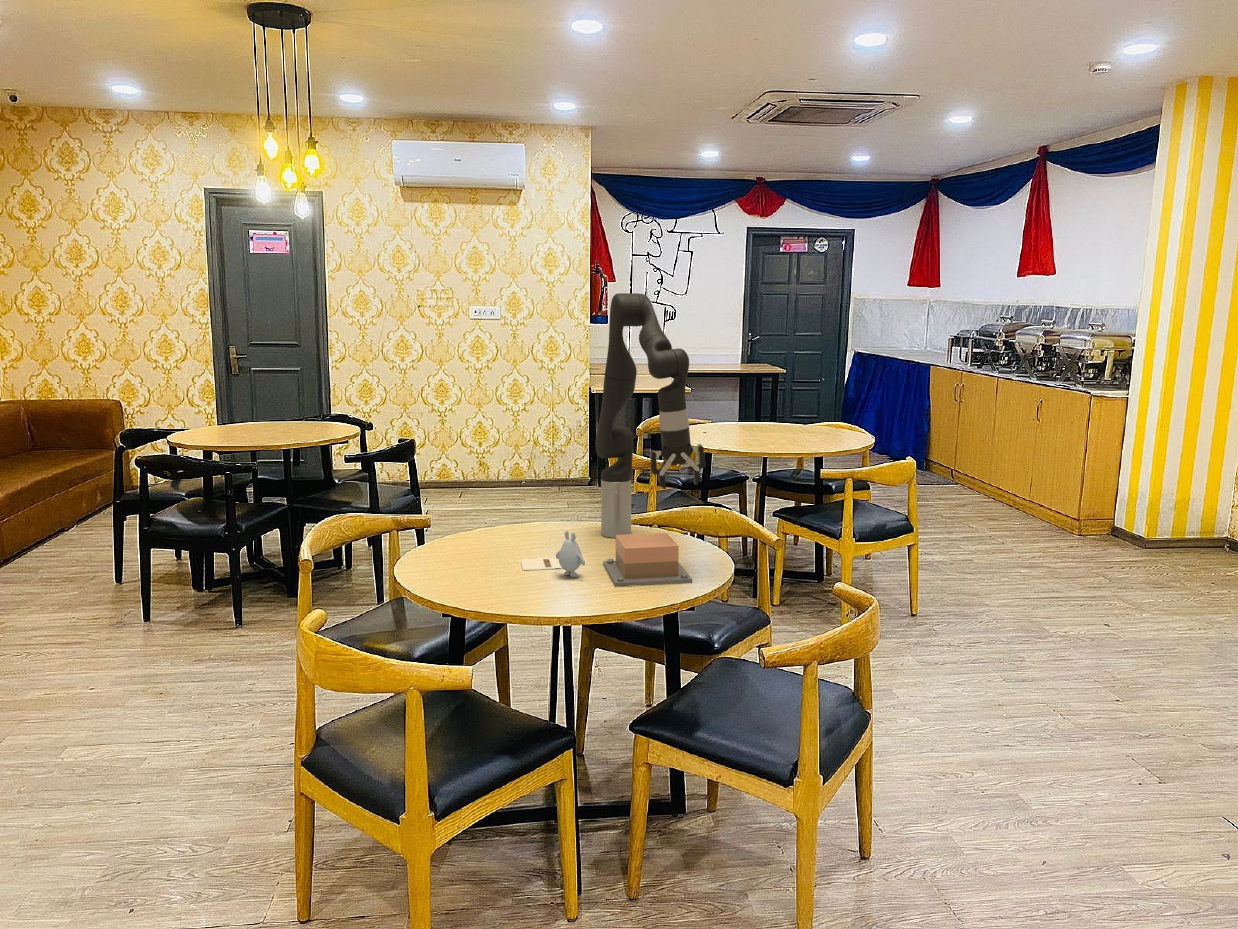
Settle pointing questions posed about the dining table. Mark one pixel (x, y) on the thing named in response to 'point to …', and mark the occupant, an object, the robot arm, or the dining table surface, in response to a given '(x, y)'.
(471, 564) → the dining table surface
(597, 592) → the dining table surface
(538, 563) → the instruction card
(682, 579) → the orange square pedestal
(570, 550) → the toy figure
